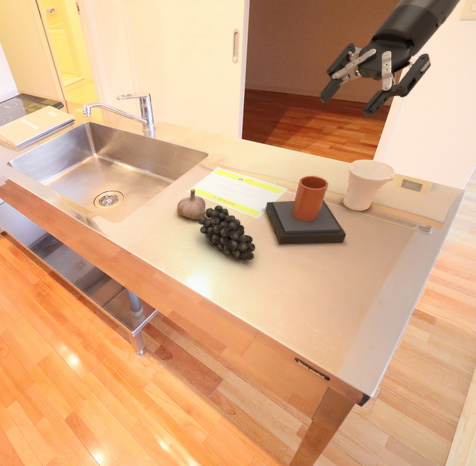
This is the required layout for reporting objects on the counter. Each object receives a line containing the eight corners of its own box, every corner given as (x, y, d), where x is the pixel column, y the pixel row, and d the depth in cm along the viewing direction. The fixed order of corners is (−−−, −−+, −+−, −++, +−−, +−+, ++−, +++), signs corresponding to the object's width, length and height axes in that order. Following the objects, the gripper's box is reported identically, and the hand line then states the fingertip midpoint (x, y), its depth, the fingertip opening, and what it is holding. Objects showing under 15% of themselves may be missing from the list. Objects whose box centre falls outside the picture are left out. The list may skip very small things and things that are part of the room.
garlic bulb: (209, 220, 80) (211, 194, 75) (181, 225, 80) (180, 199, 75) (200, 203, 86) (201, 178, 81) (174, 208, 86) (173, 183, 81)
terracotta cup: (312, 206, 74) (322, 175, 69) (321, 221, 70) (332, 188, 65) (288, 207, 75) (296, 176, 70) (295, 222, 71) (304, 190, 66)
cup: (362, 220, 73) (379, 183, 67) (327, 201, 80) (339, 165, 74) (389, 207, 75) (408, 170, 69) (353, 189, 82) (367, 154, 76)
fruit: (266, 231, 61) (218, 194, 72) (231, 256, 61) (188, 215, 72) (270, 255, 68) (225, 217, 78) (238, 278, 67) (197, 237, 78)
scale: (322, 207, 79) (325, 196, 77) (344, 242, 69) (349, 231, 67) (265, 209, 81) (267, 199, 79) (279, 244, 71) (281, 234, 69)
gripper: (368, 1, 56) (303, 87, 61) (464, 4, 45) (376, 107, 50) (378, 29, 60) (317, 107, 65) (467, 38, 50) (386, 129, 55)
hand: (343, 107), depth 58 cm, fingers open, 8 cm apart
